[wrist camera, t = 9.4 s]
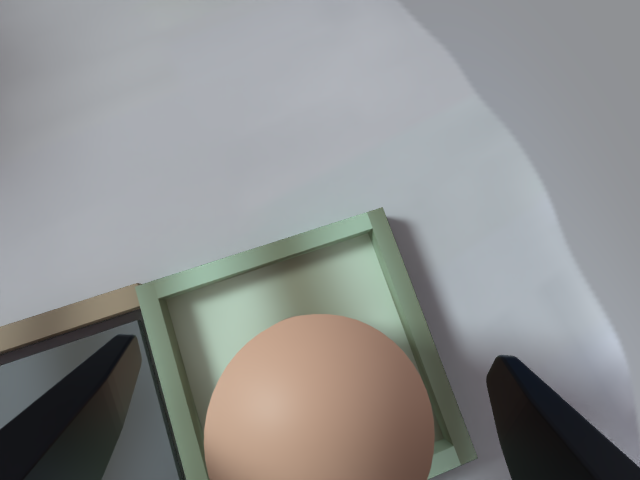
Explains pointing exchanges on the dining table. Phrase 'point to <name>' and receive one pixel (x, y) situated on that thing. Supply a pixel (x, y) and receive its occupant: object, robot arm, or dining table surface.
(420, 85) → the dining table surface
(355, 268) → the frame
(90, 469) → the robot arm
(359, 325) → the peach capsule
